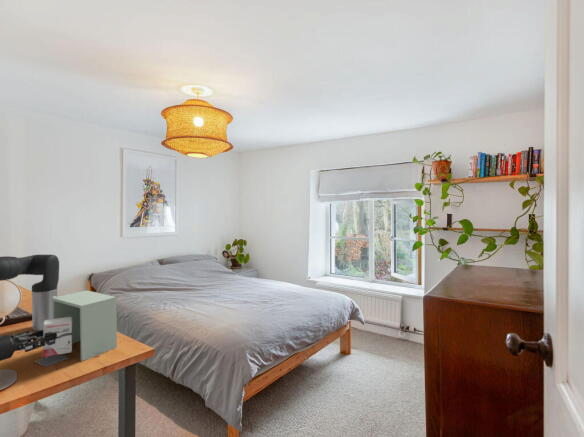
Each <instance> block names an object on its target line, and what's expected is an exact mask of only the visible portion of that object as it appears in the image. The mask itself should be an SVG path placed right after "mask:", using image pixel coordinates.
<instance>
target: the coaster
mask: <svg viewBox="0 0 584 437" xmlns="http://www.w3.org/2000/svg"><path fill="white" fill-rule="evenodd" d="M68 358H69V357H67V356H65V355H64V354H58V355H52V356H47V357H42V358H40V359H37V360H35V363H37V364H39V365H41V366H42V367H46V368H47V367H49V366H51V365H54V364H57V363H60V362H63V361H65V360H68Z"/></svg>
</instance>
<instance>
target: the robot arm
mask: <svg viewBox="0 0 584 437" xmlns="http://www.w3.org/2000/svg"><path fill="white" fill-rule="evenodd" d="M20 275H23V276H24V275H27V276H29V275H32V276H42V279H41V281H39V282H35V283H34V284H32V286H31V307H32V308H31V314H32V315H31V316H32V319H31V320H32V321H31V322H32V323H31V324H32V330H33V331H23V332H20V333H14V334H10V335H9V334H5V335H1V336H0V362H2V361H5V360H8V359H11V358H12V357H13V355H14V353H15V352H17V351H24V352H25V353H28V352H31V351H34V350H37V349H39V348H43V346H45V342H48V341H52V340H55V339H56V338H57V333H52V334H48V335H45V336H43V324H44V321H45V320H50V319H52V298H54V297H58V284H59V279H60V260H59V258H58V256H57V255H55V254H34V255H28V256H23V257H17V256H8V255H7V256H5V255H4V256H0V282H1V281H8V280H11V279H12V280H13V279H14V278H17V277H18V276H20Z"/></svg>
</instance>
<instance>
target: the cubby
mask: <svg viewBox="0 0 584 437" xmlns="http://www.w3.org/2000/svg"><path fill="white" fill-rule="evenodd" d="M117 314H118V313H117V297H116V296H112V295H109V294H105V293H99V292H96V291H91V290H84V291H83V290H82V291H78V292H73V293H68V294H64V295H60V296H57V297H54V298H52V319H57V318H64V317H72V344H74V343H78V342H79V343H80V361H81V362H83V361H87V360H89V359H91V358H94V357H96V356H99V355H101V354H103V353H106V352H108V351H112V350H115V349H116V348H118V336H117V334H118V331H117V328H118V326H117V324H118V323H117V320H118V319H117V317H118V316H117Z"/></svg>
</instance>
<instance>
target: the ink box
mask: <svg viewBox="0 0 584 437" xmlns="http://www.w3.org/2000/svg"><path fill="white" fill-rule="evenodd" d="M52 333H57V338H56V339H55V340H52V341H48V342H45V346H42V358H45V357H48V356H52V355H58V354H61V355H64V354H68V353H72V352H73V343H72V317H64V318H57V319H50V320H45V321H44V324H43V336H45V335H48V334H52Z"/></svg>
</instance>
